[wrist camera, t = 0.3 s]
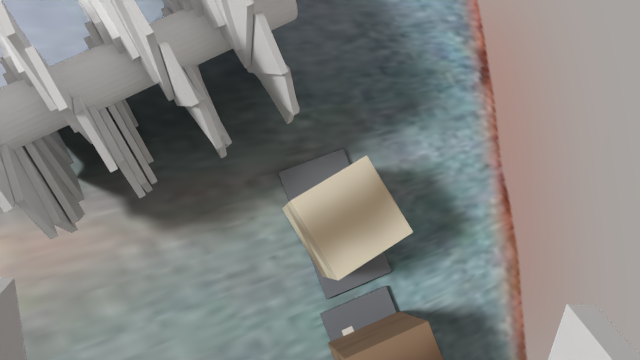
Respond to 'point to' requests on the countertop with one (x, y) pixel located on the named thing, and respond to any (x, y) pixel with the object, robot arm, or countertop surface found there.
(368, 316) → the tile
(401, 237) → the birch block
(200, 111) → the spiral staircase
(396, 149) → the countertop surface
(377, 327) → the walnut block
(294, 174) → the code tile
